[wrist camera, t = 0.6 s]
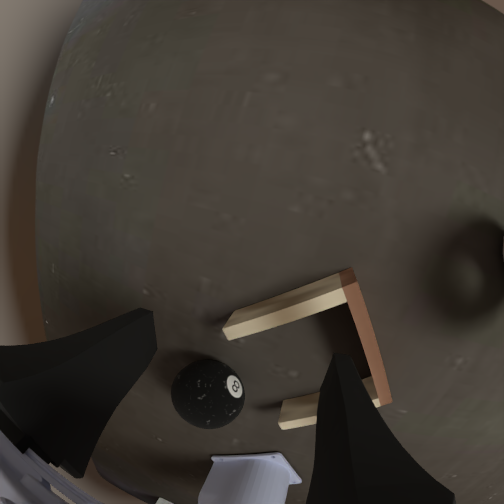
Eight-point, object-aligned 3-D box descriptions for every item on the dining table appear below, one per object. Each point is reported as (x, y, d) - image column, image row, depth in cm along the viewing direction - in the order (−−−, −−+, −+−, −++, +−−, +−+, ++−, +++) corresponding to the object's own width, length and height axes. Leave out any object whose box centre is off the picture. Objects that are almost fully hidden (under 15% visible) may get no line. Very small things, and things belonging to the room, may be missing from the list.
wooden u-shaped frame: (287, 407, 23) (282, 429, 20) (234, 310, 21) (222, 328, 19) (386, 379, 20) (392, 401, 17) (351, 267, 18) (357, 281, 16)
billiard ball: (263, 388, 23) (247, 436, 17) (214, 402, 25) (191, 444, 19) (226, 338, 22) (198, 382, 17) (177, 358, 24) (146, 396, 19)
